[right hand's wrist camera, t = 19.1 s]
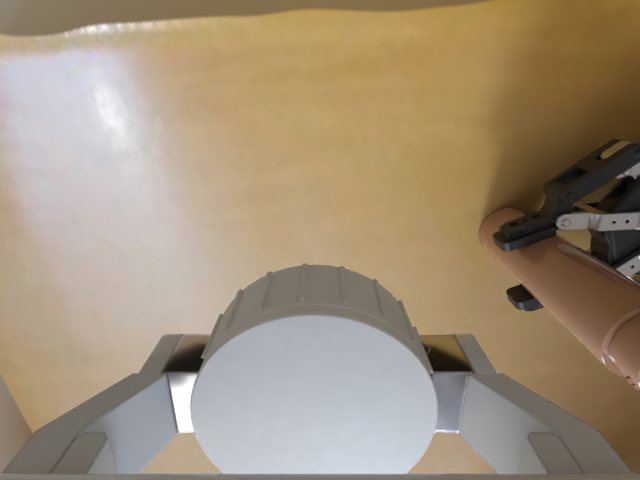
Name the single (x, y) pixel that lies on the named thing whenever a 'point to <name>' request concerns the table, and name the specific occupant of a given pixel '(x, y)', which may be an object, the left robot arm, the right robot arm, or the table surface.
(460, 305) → the table surface
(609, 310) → the tan cylinder
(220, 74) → the table surface
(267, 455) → the lid
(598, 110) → the table surface
